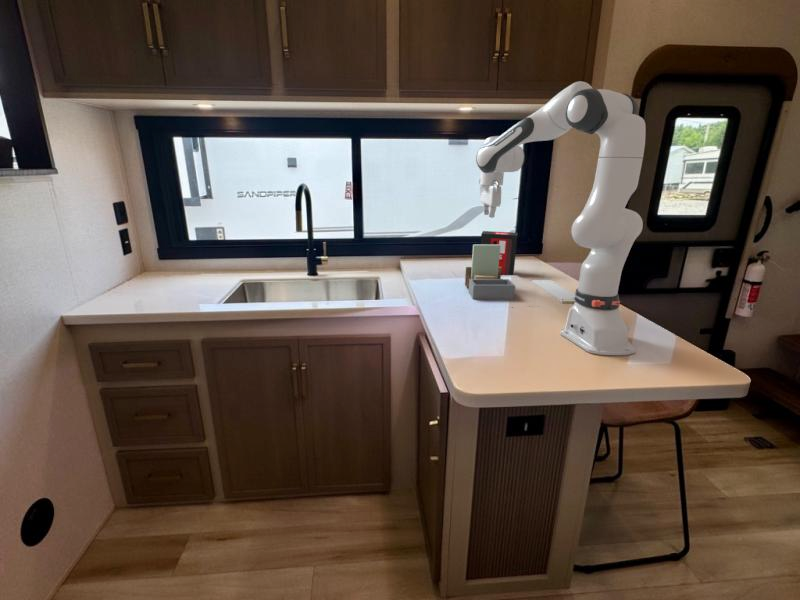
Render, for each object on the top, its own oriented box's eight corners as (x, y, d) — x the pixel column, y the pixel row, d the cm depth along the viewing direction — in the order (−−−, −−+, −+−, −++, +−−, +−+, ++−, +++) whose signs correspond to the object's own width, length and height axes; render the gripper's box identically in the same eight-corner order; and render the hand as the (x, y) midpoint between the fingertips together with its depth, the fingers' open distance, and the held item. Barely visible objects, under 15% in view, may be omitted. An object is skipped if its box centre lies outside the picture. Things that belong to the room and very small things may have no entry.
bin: (513, 302, 160) (515, 285, 158) (472, 302, 159) (473, 285, 157) (507, 295, 168) (508, 279, 166) (468, 295, 168) (469, 279, 166)
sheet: (496, 287, 175) (500, 245, 169) (471, 287, 175) (473, 245, 169) (495, 286, 176) (499, 244, 171) (470, 286, 176) (473, 244, 170)
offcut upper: (494, 283, 169) (495, 276, 168) (475, 283, 168) (475, 276, 168) (492, 281, 172) (493, 274, 171) (473, 281, 172) (474, 274, 171)
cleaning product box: (478, 274, 202) (481, 233, 196) (480, 270, 210) (483, 231, 204) (513, 277, 198) (517, 235, 191) (513, 272, 206) (517, 232, 200)
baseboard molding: (556, 283, 190) (531, 283, 190) (556, 276, 190) (531, 277, 189) (591, 304, 161) (561, 305, 160) (592, 297, 160) (562, 297, 159)
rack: (505, 295, 169) (507, 272, 166) (468, 295, 169) (470, 272, 166) (498, 288, 179) (500, 266, 176) (464, 288, 178) (465, 266, 176)
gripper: (506, 181, 152) (503, 219, 156) (493, 179, 172) (490, 213, 176) (490, 181, 152) (487, 219, 156) (478, 179, 171) (475, 213, 176)
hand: (488, 216), depth 166 cm, fingers open, 8 cm apart
